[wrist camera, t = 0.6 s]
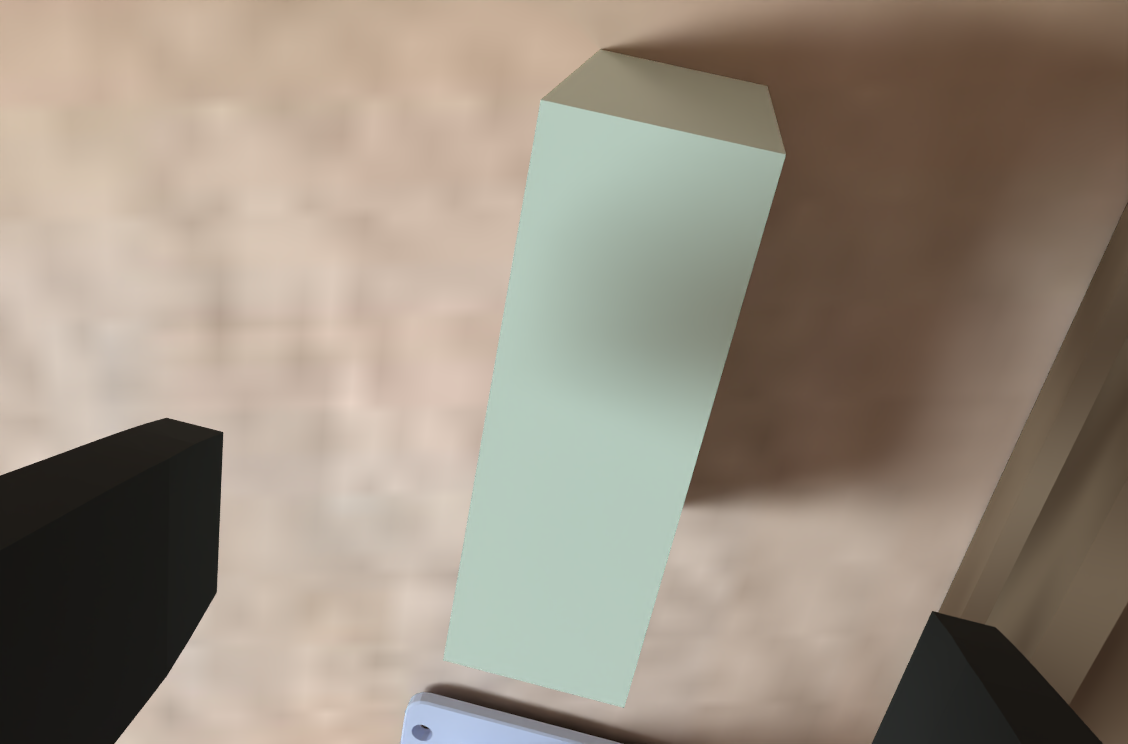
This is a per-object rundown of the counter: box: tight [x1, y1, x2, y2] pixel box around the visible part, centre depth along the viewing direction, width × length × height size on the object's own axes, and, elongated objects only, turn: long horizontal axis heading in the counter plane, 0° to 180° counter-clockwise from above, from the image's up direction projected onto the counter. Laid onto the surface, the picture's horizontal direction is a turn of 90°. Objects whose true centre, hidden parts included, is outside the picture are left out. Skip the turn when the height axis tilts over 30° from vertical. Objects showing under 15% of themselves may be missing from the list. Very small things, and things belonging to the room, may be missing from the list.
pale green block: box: [443, 49, 786, 708], centre depth 16 cm, size 9×3×6 cm, turn 169°
